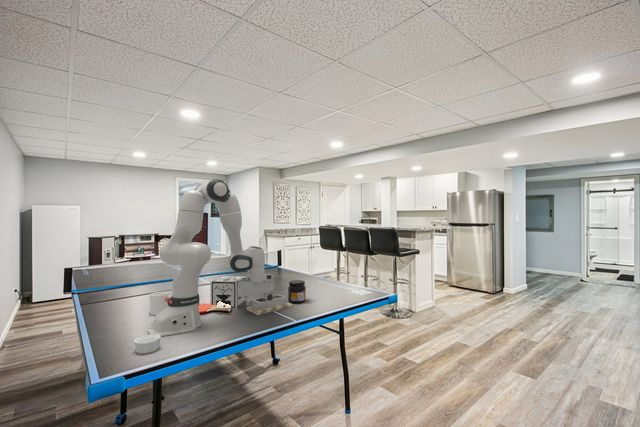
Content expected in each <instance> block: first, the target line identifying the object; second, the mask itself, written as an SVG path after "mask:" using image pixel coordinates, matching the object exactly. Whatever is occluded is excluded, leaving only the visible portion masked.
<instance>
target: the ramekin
mask: <svg viewBox="0 0 640 427" xmlns="http://www.w3.org/2000/svg"><path fill="white" fill-rule="evenodd" d="M161 338H162V337H161V336H160V335H158V334H150V335H149V334H146V335H142V336H139V337H137V338H135V339H134V340H133V342H134V346H135V347H134V348H135V352H136V354H140V355H141V354H142V355H143V354H144V355H145V354H149V353H153V352H155V351H157V350H158V349H159V348H160V345H161Z"/></svg>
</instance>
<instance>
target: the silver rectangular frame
mask: <svg viewBox="0 0 640 427" xmlns="http://www.w3.org/2000/svg"><path fill="white" fill-rule="evenodd" d="M262 298H264V296H263V297H256V298H252V299H250V300H249V301H250V304H249V306H250V307H251V308H254V309H256V310H258V311H260V310H265V309H269V308H273V307H278V306H282V305H286V304H287V302H288V296H286V295H282V294H279V293H278V294H277V293H276V294H272V300H267V298H266V301H262Z"/></svg>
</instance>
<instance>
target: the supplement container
mask: <svg viewBox="0 0 640 427" xmlns="http://www.w3.org/2000/svg"><path fill="white" fill-rule="evenodd" d="M305 285H306V282H305V280H302V279H293V280H289V281H288V287H287V302H288V303H291V304H294V305H296V304H297V305H299V304H303V303H305V302H306V301H307V300H306V298H307V297H306V294H307V293H306V289H307V287H306V286H305Z"/></svg>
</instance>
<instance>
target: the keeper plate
mask: <svg viewBox="0 0 640 427" xmlns="http://www.w3.org/2000/svg"><path fill="white" fill-rule="evenodd" d="M272 295H273V293H272V294H271V293H268V296H267V300H272ZM293 306H294V305H293V304H292V303H290V302H288V301H287V304H286V305H282V306H278V307H273V308H269V309H265V310H260V311H258V310H256V309H254V308H251V307H250V305H248V306H246V311H248V312H250V313H252V314H255V315H257V316H261V315H263V314H268V313H273V312H276V311H281V310H285V309H291V308H293Z"/></svg>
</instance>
